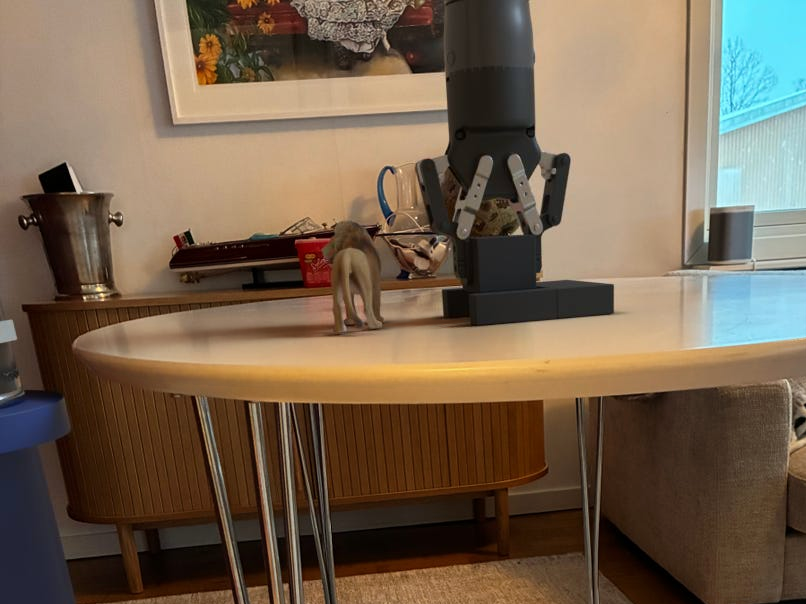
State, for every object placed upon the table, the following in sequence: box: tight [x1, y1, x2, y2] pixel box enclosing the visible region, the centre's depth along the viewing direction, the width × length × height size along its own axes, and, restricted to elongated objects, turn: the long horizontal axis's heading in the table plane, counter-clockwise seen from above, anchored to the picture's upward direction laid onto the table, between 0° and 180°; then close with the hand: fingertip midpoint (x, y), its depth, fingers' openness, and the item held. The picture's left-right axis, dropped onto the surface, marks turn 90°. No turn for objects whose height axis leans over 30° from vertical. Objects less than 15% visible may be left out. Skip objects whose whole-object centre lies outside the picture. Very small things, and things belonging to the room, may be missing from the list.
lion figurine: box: [320, 219, 385, 334], centre depth 86 cm, size 15×5×9 cm, turn 10°
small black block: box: [461, 234, 537, 293], centre depth 87 cm, size 5×5×4 cm
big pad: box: [441, 279, 615, 326], centre depth 89 cm, size 13×11×2 cm
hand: (498, 281), depth 88 cm, fingers closed on small black block, 5 cm apart
